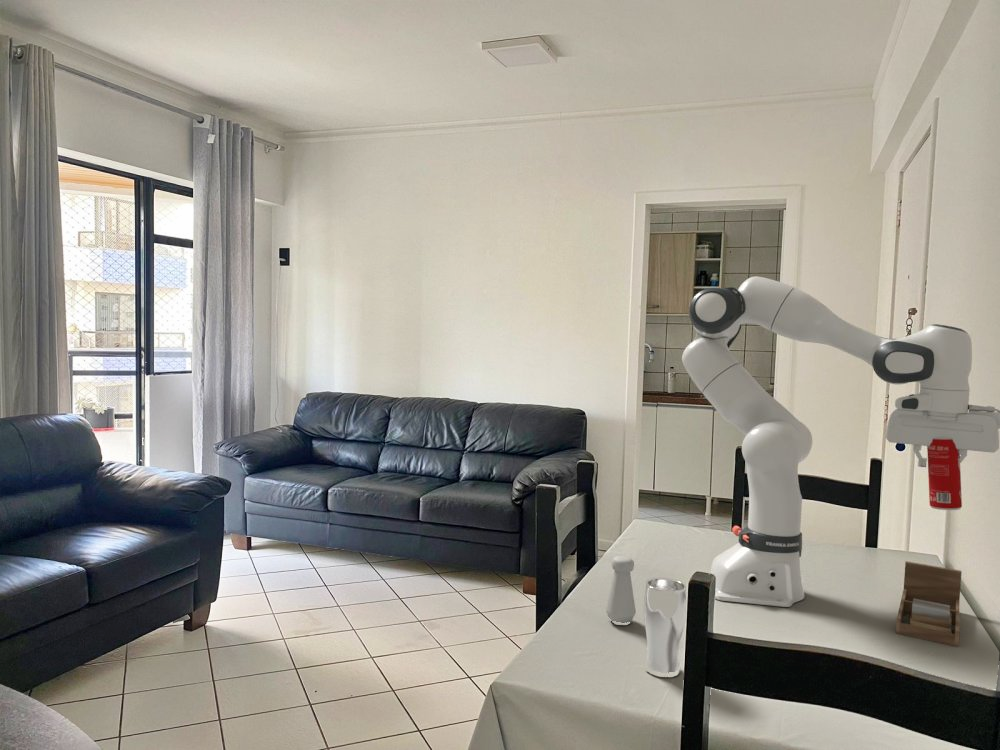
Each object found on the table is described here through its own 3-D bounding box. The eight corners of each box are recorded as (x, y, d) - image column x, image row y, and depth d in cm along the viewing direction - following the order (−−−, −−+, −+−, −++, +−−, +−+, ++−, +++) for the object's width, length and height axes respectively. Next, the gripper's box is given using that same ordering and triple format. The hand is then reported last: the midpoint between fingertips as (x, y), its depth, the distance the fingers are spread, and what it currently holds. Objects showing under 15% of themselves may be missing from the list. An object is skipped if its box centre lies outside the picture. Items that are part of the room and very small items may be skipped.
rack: (958, 646, 137) (961, 600, 136) (895, 632, 142) (898, 588, 142) (958, 612, 155) (961, 570, 154) (903, 601, 160) (905, 561, 160)
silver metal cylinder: (950, 637, 142) (952, 613, 141) (909, 628, 145) (911, 605, 145) (950, 629, 146) (952, 605, 145) (911, 620, 149) (912, 597, 149)
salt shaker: (612, 629, 140) (615, 563, 139) (600, 617, 146) (603, 554, 145) (640, 626, 142) (643, 561, 141) (627, 615, 147) (630, 552, 146)
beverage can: (966, 512, 148) (968, 439, 147) (930, 510, 149) (933, 438, 149) (955, 506, 153) (957, 435, 153) (921, 504, 155) (923, 434, 154)
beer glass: (676, 660, 127) (680, 577, 126) (688, 680, 120) (692, 591, 119) (637, 660, 127) (640, 576, 126) (646, 679, 120) (650, 591, 119)
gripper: (1003, 406, 148) (997, 473, 149) (890, 398, 159) (885, 460, 160) (1004, 408, 142) (999, 477, 143) (887, 399, 153) (883, 464, 154)
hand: (938, 468), depth 152 cm, fingers closed on beverage can, 4 cm apart
